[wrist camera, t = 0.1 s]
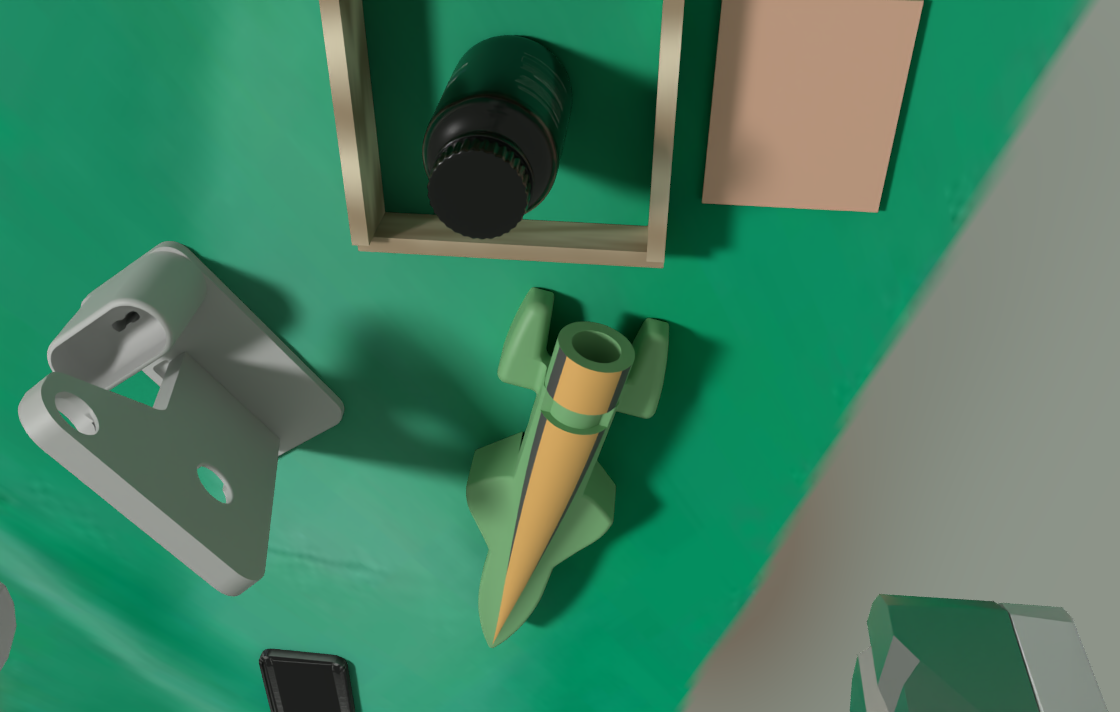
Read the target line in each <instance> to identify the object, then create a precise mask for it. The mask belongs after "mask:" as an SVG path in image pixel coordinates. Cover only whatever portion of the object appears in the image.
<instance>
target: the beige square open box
mask: <svg viewBox="0 0 1120 712" xmlns="http://www.w3.org/2000/svg"><path fill="white" fill-rule="evenodd" d="M319 3H320V11H321V18H322V25H323V33H324V40H325V48H326V55H327V63H328V70H329V77H330V85H331V92H332V100H333V107H334V114H335V122H336V129H337V137H338V144H339V151H340V159H341V166H342V174H343V181H344V188H345V196H346V203H347V211H348V218H349V225H350V233H351V240H352V245H358V251H370V252H387V253H405V254H422V255H440V256H458V257H475V258H493V259H510V260H528V261H546V262H563V263H581V264H598V265H616V266H634V267H651V268H663V264H664V257H665V244H666V231H667V218H668V205H669V192H670V180H671V167H672V154H673V141H674V128H675V115H676V102H677V90H678V77H679V64H680V51H681V38H682V25H683V12H684V0H663V11H662V27H661V42H660V57H659V73H658V88H657V103H656V118H655V134H654V149H653V164H652V180H651V195H650V210H649V225H648V226H633V225H614V224H596V223H577V222H558V221H540V220H521V221H520V222H519V223H518V224H517V226H516V227H515V228H513V229H511V230H510V232H509V233H505V234H503V235H502V236H501V237H494V238H493V239H488V238H486V239H483V240H482V239H479V238H476V239H472V238H470V237H467V236H466V237H465V236H462V235H461V234H460V233H455V232H454V231H453V230H452V229H450V228H448V227H446V225H445V224H444V223H443V222H441V221H440V220H439V218H438V216H437V215H428V214H410V213H391V212H385V205H384V196H383V187H382V178H381V169H380V160H379V151H378V142H377V133H376V124H375V114H374V105H373V96H372V87H371V78H370V69H369V60H368V51H367V42H366V33H365V24H364V14H363V5H362V0H319Z"/></svg>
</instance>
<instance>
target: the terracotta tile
mask: <svg viewBox="0 0 1120 712" xmlns="http://www.w3.org/2000/svg"><path fill="white" fill-rule="evenodd" d="M923 2H924V1H923V0H722V2H721V12H720V22H719V32H718V43H717V53H716V63H715V73H714V83H713V93H712V103H711V113H710V123H709V133H708V143H707V153H706V163H705V173H704V183H703V193H702V203H707V204H726V205H746V206H765V207H784V208H803V209H823V210H842V211H861V212H878V209H879V205H880V200H881V195H882V191H883V186H884V182H885V177H886V172H887V168H888V163H889V159H890V154H891V149H892V145H893V140H894V135H895V131H896V126H897V122H898V117H899V112H900V108H901V103H902V99H903V94H904V89H905V85H906V80H907V76H908V71H909V66H910V62H911V57H912V53H913V48H914V43H915V39H916V34H917V30H918V25H919V20H920V16H921V11H922V7H923Z"/></svg>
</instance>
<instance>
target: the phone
mask: <svg viewBox="0 0 1120 712" xmlns="http://www.w3.org/2000/svg"><path fill="white" fill-rule="evenodd" d="M259 665H260V669H261V674H262V678H263V682H264V686H265V690H266V694H267V698H268V702H269V706H270V710H271V712H355V707H354V701H353V695H352V689H351V682H350V676H349V670H348V664H347V662H346V661H345V659H343V658H342V657H339V656H337V655H330V654H320V653H310V652H300V651H290V650H280V649H266V650H264V651H263V652H262V654H261V656H260V659H259Z"/></svg>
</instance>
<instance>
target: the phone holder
mask: <svg viewBox="0 0 1120 712" xmlns="http://www.w3.org/2000/svg"><path fill="white" fill-rule="evenodd" d="M47 359H48V363H49V366H50V368H51V369H52V371H53V372H52V373H50V374H49V375H47V376H46V377H45V378H44V379H42V380H41V381H40V382H39V383H37V384H36V385H35V386H34V387H32V388H31V389H30V390H29V391H27V392H26V393H25V395H24V397H23V398H22V400H21V402H20V404H19V407H18V414H19V418H20V421H21V423H22V425H23V427H24V429H25V431H26V432H27V434H28V435H29V436H30V438H31V439H32V440H33V441H34V442H35V443H36V444H37V445H38V446H39V447H40V448H41V449H43V450H44V451H45V452H46V453H47V454H49V455H50V456H51V457H52V458H54V459H55V460H56V461H57V462H59V463H60V464H61V465H62V466H64V467H65V468H66V469H67V470H68V471H70V472H71V473H72V474H73V475H75V476H76V477H77V478H78V479H80V480H81V481H82V482H83V483H85V484H86V485H87V486H88V487H89V488H91V489H92V490H93V491H94V492H96V493H97V494H98V495H99V496H101V497H102V498H103V499H104V500H106V501H107V502H108V503H109V504H110V505H112V506H113V507H114V508H115V509H117V510H118V511H119V512H120V513H122V514H123V515H124V516H125V517H127V518H128V519H129V520H130V521H132V522H133V523H134V524H135V525H137V526H138V527H139V528H140V529H142V530H143V531H144V532H145V533H147V534H148V535H149V536H150V537H152V538H153V539H154V540H155V541H156V542H158V543H159V544H160V545H161V546H163V547H164V548H165V549H166V550H168V551H169V552H170V553H171V554H173V555H174V556H175V557H176V558H178V559H179V560H180V561H181V562H183V563H184V564H185V565H186V566H188V567H189V568H190V569H191V570H193V571H194V572H195V573H196V574H198V575H199V576H200V577H201V578H203V579H204V580H205V581H206V582H208V583H209V584H210V585H211V586H212V587H214V588H215V589H216V590H218V591H219V592H221V593H223V594H225V595H228V596H238V595H240V594H241V593H243V592H244V591H245V590H247V589H248V588H249V587H251V586H252V585H253V584H255V583H256V582H257V581H259V580H260V579H261V578H262V577H263V576H264V573H265V566H266V557H267V548H268V540H269V531H270V522H271V514H272V505H273V497H274V488H275V479H276V471H277V462H278V456H279V455H281V454H283V453H285V452H287V451H289V450H290V449H292V448H294V447H296V446H298V445H300V444H302V443H303V442H305V441H307V440H309V439H311V438H313V437H315V436H316V435H318V434H320V433H322V432H324V431H326V430H328V429H329V428H331V427H333V426H335V425H337V424H338V423H339V422H340V420H341V418H342V416H343V413H344V404H343V402H342V401H341V399H340V398H339V397H338V396H337V395H336V394H335V393H334V392H333V391H332V390H331V389H330V388H329V387H328V386H327V385H326V384H325V383H324V382H323V381H322V380H321V379H320V378H319V377H318V376H317V375H315V374H314V373H313V372H312V371H311V370H310V369H309V368H308V367H307V366H306V365H305V364H304V363H303V362H302V361H301V360H300V359H299V358H298V357H297V356H296V355H295V354H294V353H293V352H292V351H291V350H290V349H289V348H288V347H287V346H286V345H285V344H284V343H283V342H282V341H281V340H280V339H279V338H278V337H277V336H276V335H275V334H274V333H273V332H272V331H271V330H270V329H269V328H268V327H267V326H266V325H265V324H264V323H263V322H262V321H261V320H260V319H259V318H258V317H257V316H256V315H255V314H254V313H253V312H252V311H251V310H250V309H249V308H248V307H247V306H246V305H245V304H244V303H243V302H242V301H241V300H240V299H239V298H238V297H237V296H236V295H235V294H234V293H233V292H232V291H231V290H230V289H229V288H228V287H227V286H226V285H225V284H224V283H223V282H222V281H221V280H220V279H219V278H218V277H217V276H215V275H214V274H213V273H212V272H211V271H210V270H209V269H208V268H207V267H206V266H205V265H204V264H203V263H202V262H201V261H200V260H199V259H198V258H197V257H196V256H195V255H194V254H193V253H192V252H191V251H190V250H189V249H188V248H187V247H185V246H184V245H182V244H180V243H177V242H173V241H166V242H162V243H160V244H158V245H157V246H156V247H154V248H153V249H151V250H150V251H149V252H147V253H146V254H144V255H143V256H142V257H140V258H139V259H137V260H136V261H135V262H133V263H132V264H130V265H129V266H127V267H126V268H125V269H123V270H122V271H120V272H119V273H118V274H116V275H115V276H113V277H112V278H111V279H109V280H108V281H106V282H105V283H104V284H102V285H101V286H99V287H98V288H96V289H95V290H94V291H92V292H91V293H90V294H88V296H87V297H86V298H85V299H84V300H83V302H82V304H81V308H80V309H79V310H78V312H77V313H76V314H75V315H74V316H73V318H72V319H71V320H70V321H69V322H68V324H67V325H66V326H65V327H64V328H63V330H62V331H61V332H60V333H59V334H58V336H57V337H56V338H55V339H54V340H53V342H52V343H51V344H50V346H49V348H48V352H47ZM140 370H142V371H143V372H145V373H146V374H147V375H148V376H149V377H150V378H151V379H152V380H153V381H155V382H156V383H157V384H158V385H159V386H160V389H159V392H158V395H157V398H156V400H155V403H154V406H153V408H152V407H150V406H147V405H145V404H142V403H140V402H137V401H134V400H132V399H129V398H127V397H124V396H121V395H119V394H116V393H114V392H111V391H109V390H111V389H112V388H114V387H115V386H117V385H119V384H120V383H122V382H123V381H125V380H126V379H128V378H130V377H131V376H133V375H134V374H136V373H137V372H139V371H140ZM58 410H59V411H60V412H62V413H63V414H64V415H65V416H66V417H67V418H68V419H69V420H70V421H71V422H72V423H73V424H74V425H75V427H76V428H77V430H78V431H77V430H75V429H74V428H73V427H71V426H70V425H69V424H68V423H67V422H66V421H65V420H64V419H63V418H62V416H61V415H60V413H59V412H58ZM201 466H203V467H206V468H208V469H210V470H211V471H213V472H214V473H215V474H216V475H217V476H218V477H219V478H220V479H221V480H222V482H223V483H224V485H223V492H224V494H225V497H226V504H225V503H222V502H220V501H218V500H216V499H215V498H214V497H213V496H211V495H210V494H209V493H208V492H207V490H206V489H205V488H204V486H203V485H202V483H201V482H200V480H199V477H198V474H197V468H200V467H201Z"/></svg>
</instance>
